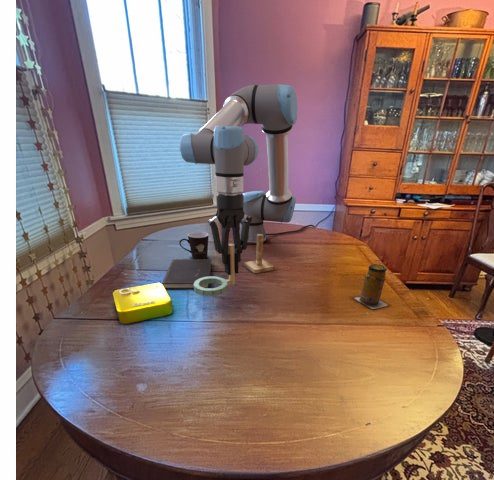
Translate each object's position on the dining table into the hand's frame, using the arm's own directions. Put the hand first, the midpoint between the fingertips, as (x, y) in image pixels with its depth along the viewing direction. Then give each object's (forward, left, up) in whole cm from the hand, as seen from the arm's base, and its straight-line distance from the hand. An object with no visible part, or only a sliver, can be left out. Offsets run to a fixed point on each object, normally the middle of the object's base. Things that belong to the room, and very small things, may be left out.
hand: (231, 272), depth 94 cm
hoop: (+6, 0, -4) cm, 7 cm away
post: (-21, -19, -9) cm, 29 cm away
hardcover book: (+7, -23, -9) cm, 26 cm away
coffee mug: (-2, -41, -9) cm, 42 cm away
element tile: (+27, -5, -9) cm, 29 cm away
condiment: (-40, +23, -9) cm, 47 cm away
